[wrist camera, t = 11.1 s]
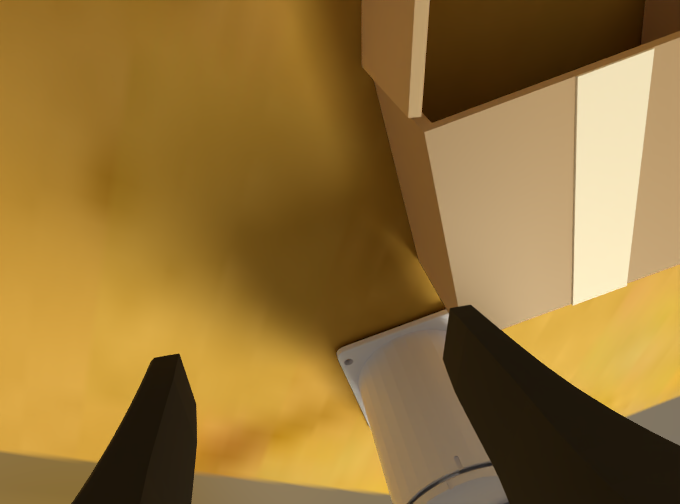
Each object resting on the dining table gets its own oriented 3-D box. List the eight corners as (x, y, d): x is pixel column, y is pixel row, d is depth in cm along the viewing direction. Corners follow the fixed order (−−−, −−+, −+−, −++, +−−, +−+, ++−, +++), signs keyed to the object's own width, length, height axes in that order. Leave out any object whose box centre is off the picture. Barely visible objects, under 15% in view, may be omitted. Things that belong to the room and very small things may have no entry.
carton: (634, 180, 25) (734, 246, 20) (418, 260, 25) (466, 344, 20) (657, -30, 19) (808, -9, 14) (372, 76, 19) (425, 133, 14)
